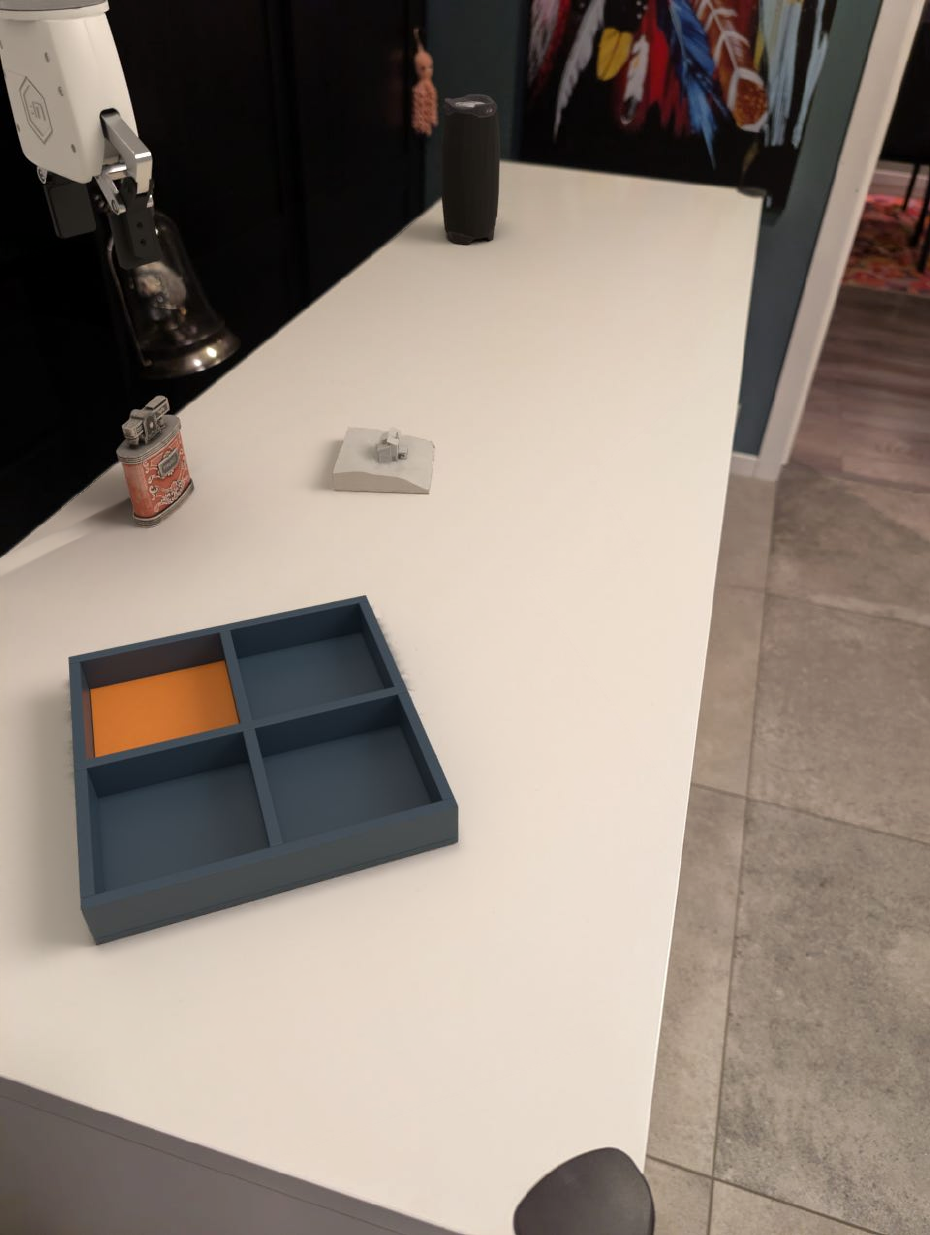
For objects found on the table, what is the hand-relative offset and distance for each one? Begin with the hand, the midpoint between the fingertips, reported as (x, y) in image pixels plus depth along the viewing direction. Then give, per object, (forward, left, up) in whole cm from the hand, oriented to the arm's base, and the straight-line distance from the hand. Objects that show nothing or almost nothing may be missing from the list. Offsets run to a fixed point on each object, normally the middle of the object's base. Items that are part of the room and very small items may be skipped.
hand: (108, 248), depth 74 cm
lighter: (-2, +1, -25) cm, 25 cm away
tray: (+30, -15, -25) cm, 42 cm away
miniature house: (+9, +20, -25) cm, 33 cm away
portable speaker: (-30, +79, -25) cm, 88 cm away
